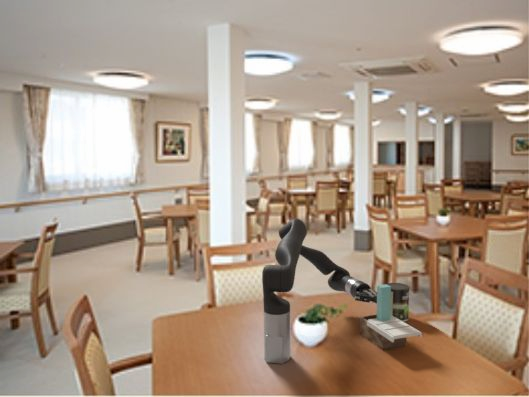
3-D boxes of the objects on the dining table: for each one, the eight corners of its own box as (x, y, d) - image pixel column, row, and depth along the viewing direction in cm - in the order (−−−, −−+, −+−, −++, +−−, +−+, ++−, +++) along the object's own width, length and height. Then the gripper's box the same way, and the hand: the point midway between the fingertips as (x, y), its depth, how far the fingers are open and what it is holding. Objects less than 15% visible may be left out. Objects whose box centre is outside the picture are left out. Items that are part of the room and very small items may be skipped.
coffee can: (412, 316, 200) (412, 285, 198) (403, 324, 192) (404, 291, 190) (389, 312, 206) (389, 281, 205) (380, 318, 198) (380, 287, 196)
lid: (421, 337, 163) (422, 295, 162) (392, 342, 159) (393, 299, 158) (393, 321, 179) (394, 282, 177) (366, 325, 175) (367, 286, 173)
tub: (406, 346, 170) (406, 328, 170) (382, 350, 167) (383, 332, 166) (381, 330, 185) (381, 313, 185) (359, 334, 182) (360, 317, 181)
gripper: (343, 282, 189) (366, 294, 173) (371, 278, 194) (396, 290, 177) (343, 299, 190) (366, 314, 174) (371, 296, 194) (395, 309, 178)
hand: (381, 302), depth 176 cm, fingers closed
